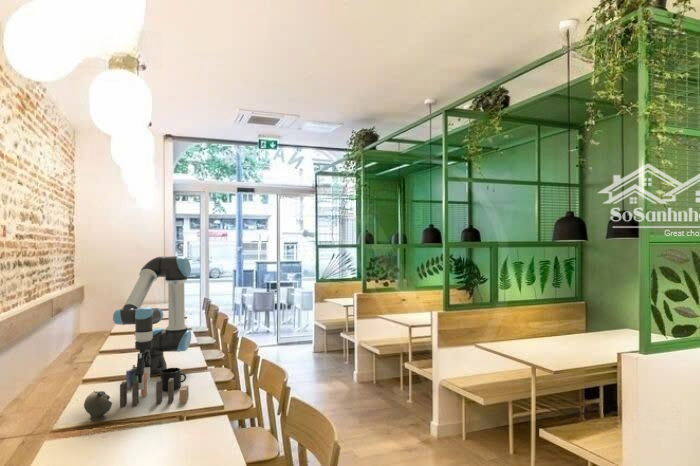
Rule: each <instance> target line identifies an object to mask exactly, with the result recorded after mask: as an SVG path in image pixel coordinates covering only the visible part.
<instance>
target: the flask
mask: <svg viewBox="0 0 700 466" xmlns="http://www.w3.org/2000/svg"><path fill="white" fill-rule="evenodd" d="M136 369H137V366H136V365H135V364H133V365H132V368H130V369H127V370H125V381H127V390H129V389H131V390H132V384H133V383H134V381H137V376H135V374H136ZM139 373H141V372H139Z"/></svg>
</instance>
